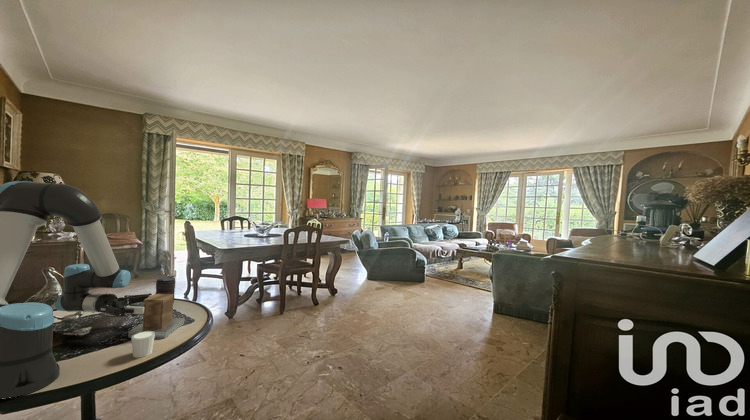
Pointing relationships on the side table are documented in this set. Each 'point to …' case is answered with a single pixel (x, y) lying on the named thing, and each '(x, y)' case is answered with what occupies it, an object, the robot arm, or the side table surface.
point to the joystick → (159, 331)
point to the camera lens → (165, 286)
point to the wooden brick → (158, 310)
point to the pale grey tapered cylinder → (142, 343)
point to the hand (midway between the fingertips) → (154, 304)
